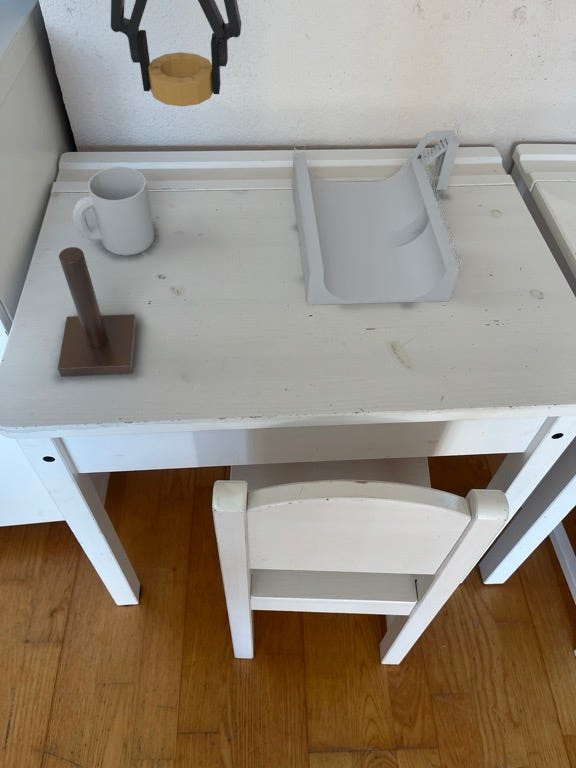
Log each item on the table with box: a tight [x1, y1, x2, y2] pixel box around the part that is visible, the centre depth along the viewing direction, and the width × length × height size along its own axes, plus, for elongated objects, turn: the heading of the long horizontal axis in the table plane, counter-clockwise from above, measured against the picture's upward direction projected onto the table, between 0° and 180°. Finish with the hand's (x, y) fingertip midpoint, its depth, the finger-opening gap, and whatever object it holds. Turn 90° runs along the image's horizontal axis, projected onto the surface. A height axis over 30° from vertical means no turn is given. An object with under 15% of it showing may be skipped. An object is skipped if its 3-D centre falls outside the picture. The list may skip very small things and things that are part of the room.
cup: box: [72, 166, 156, 257], centre depth 83 cm, size 7×10×9 cm
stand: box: [57, 246, 137, 378], centre depth 69 cm, size 8×8×14 cm
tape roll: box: [148, 51, 214, 107], centre depth 83 cm, size 8×8×3 cm
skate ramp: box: [291, 121, 463, 306], centre depth 85 cm, size 25×23×10 cm
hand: (182, 87), depth 84 cm, fingers closed on tape roll, 8 cm apart
